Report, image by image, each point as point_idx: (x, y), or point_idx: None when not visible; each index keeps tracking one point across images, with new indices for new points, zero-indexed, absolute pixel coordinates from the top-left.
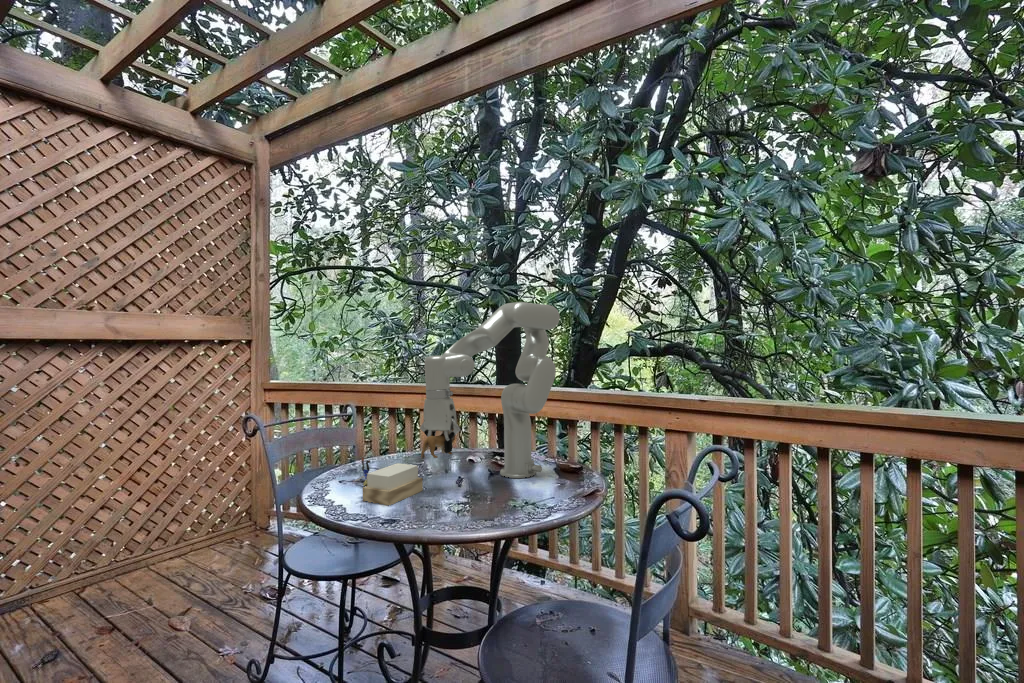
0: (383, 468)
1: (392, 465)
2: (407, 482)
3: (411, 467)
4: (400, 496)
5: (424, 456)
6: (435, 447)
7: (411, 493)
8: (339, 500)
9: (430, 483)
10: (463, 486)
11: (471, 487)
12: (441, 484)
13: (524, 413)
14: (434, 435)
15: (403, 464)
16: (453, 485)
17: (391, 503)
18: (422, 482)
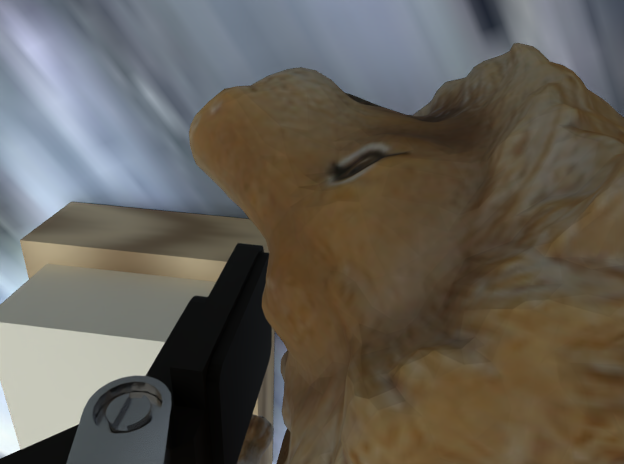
0: None
1: (12, 385)
2: None
3: None
4: (268, 415)
5: (268, 446)
6: (262, 314)
7: (272, 330)
8: (15, 448)
9: (218, 41)
10: (529, 19)
11: (613, 21)
12: (317, 34)
13: None
14: (171, 454)
15: (62, 342)
16: (429, 23)
17: (271, 456)
18: (264, 249)
